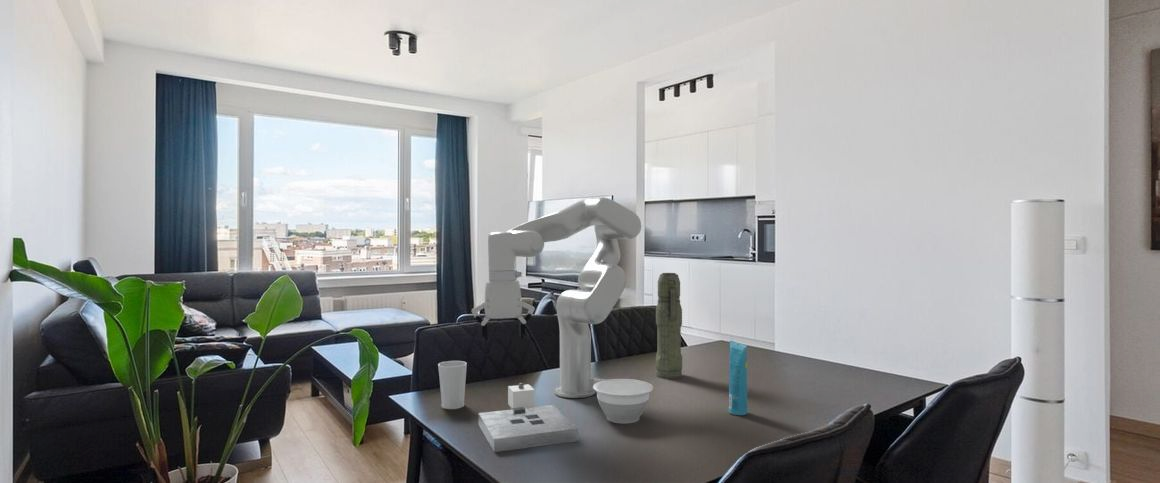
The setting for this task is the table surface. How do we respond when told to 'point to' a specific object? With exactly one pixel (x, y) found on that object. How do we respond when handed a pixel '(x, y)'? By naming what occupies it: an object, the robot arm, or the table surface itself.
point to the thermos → (669, 327)
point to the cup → (452, 383)
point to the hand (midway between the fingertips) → (503, 338)
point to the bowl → (623, 399)
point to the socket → (526, 428)
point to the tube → (738, 379)
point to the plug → (521, 396)
